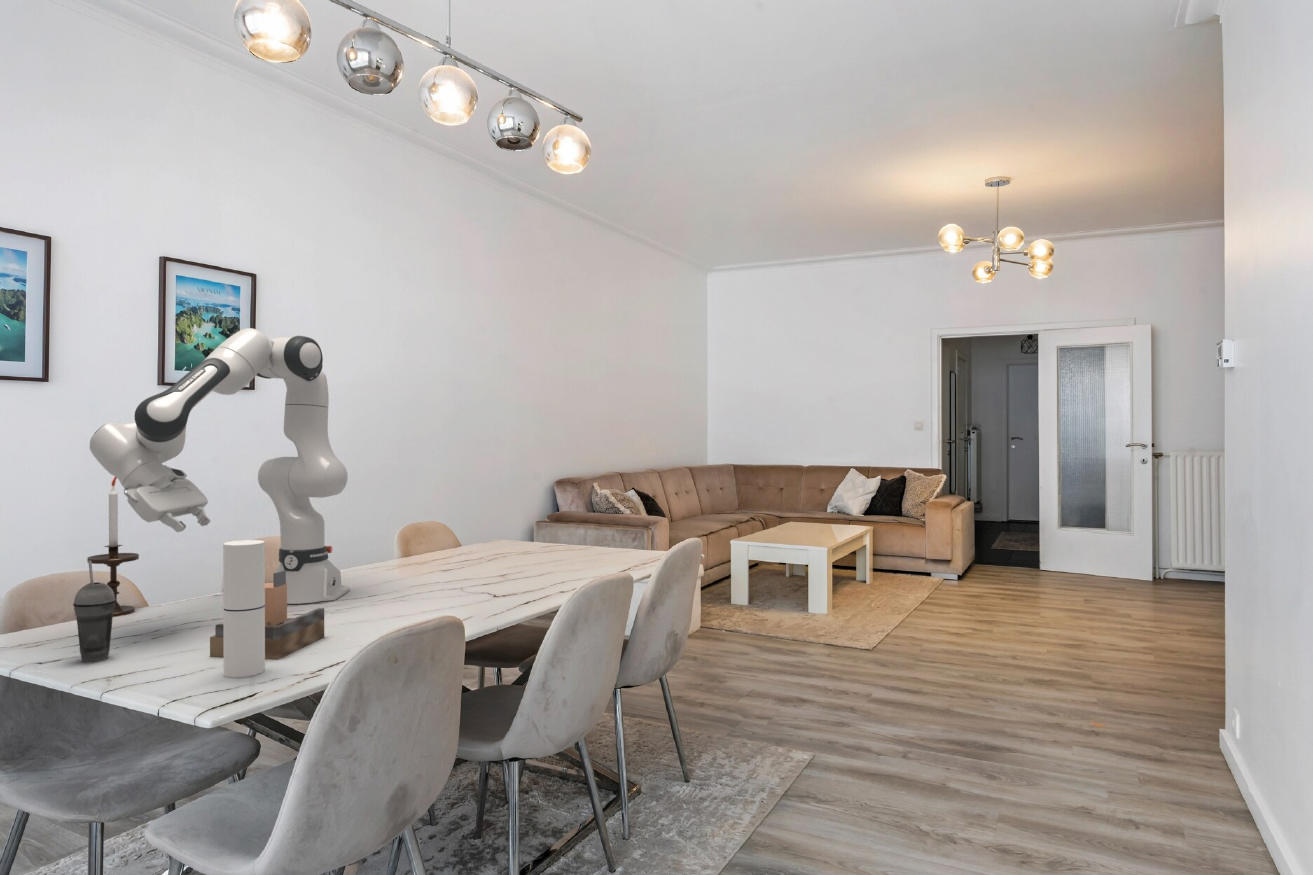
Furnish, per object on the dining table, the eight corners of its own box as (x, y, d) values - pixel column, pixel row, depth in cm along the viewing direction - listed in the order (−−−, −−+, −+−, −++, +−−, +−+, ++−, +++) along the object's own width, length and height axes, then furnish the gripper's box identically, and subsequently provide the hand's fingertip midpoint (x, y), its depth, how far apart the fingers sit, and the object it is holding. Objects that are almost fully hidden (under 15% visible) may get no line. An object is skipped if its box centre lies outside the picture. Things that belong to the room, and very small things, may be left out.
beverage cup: (94, 665, 162) (94, 564, 161) (63, 663, 163) (63, 563, 163) (125, 655, 169) (125, 558, 169) (95, 653, 170) (95, 557, 170)
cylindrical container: (221, 679, 153) (221, 546, 153) (225, 668, 160) (224, 541, 160) (264, 674, 156) (264, 544, 156) (265, 664, 163) (265, 539, 162)
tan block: (264, 623, 179) (264, 569, 179) (287, 623, 179) (286, 569, 179) (252, 628, 174) (252, 573, 174) (274, 629, 174) (274, 573, 174)
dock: (262, 634, 186) (261, 605, 186) (324, 636, 185) (324, 607, 185) (209, 656, 168) (209, 624, 168) (278, 659, 167) (278, 627, 167)
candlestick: (149, 608, 212) (148, 473, 211) (117, 618, 201) (116, 476, 201) (110, 607, 213) (109, 473, 213) (76, 617, 202) (75, 475, 202)
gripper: (129, 477, 173) (176, 523, 173) (187, 470, 193) (228, 511, 193) (109, 498, 173) (156, 544, 173) (168, 488, 194) (210, 530, 194)
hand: (194, 526), depth 184 cm, fingers open, 8 cm apart
